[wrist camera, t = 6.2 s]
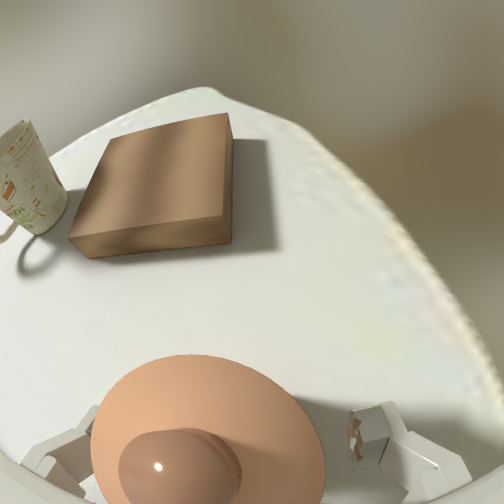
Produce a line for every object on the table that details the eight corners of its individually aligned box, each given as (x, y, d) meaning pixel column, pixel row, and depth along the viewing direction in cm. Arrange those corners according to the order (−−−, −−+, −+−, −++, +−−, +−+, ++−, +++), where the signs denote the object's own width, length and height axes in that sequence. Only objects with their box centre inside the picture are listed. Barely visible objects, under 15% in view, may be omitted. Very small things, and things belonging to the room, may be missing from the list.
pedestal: (88, 258, 20) (67, 238, 18) (122, 160, 26) (110, 139, 24) (231, 243, 19) (222, 215, 16) (233, 138, 25) (227, 112, 23)
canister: (207, 472, 12) (71, 544, 2) (204, 388, 14) (63, 335, 5) (304, 472, 11) (331, 588, 2) (299, 383, 14) (324, 331, 4)
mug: (87, 198, 24) (35, 123, 16) (10, 289, 20) (-57, 233, 11) (63, 175, 27) (23, 114, 19) (-1, 249, 23) (-52, 199, 15)
